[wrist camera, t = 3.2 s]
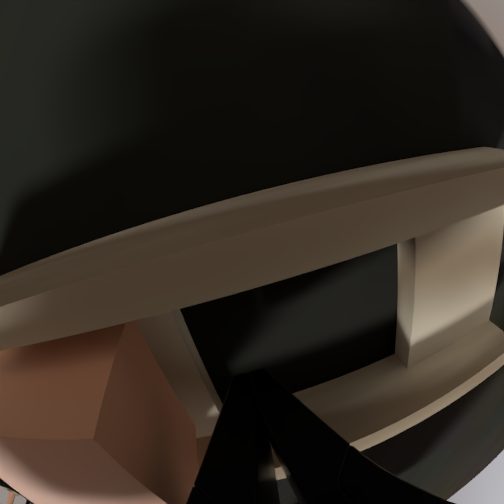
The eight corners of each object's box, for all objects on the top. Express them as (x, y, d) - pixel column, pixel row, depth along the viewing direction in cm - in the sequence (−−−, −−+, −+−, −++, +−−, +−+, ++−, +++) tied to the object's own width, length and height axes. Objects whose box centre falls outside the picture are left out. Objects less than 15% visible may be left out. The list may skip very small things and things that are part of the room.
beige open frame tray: (472, 326, 12) (510, 358, 9) (-15, 438, 9) (-29, 472, 7) (484, 146, 8) (545, 158, 6) (-98, 321, 6) (-125, 351, 3)
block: (195, 426, 9) (204, 528, 5) (79, 438, 9) (63, 522, 5) (130, 309, 7) (93, 439, 3) (3, 340, 7) (-52, 427, 3)
